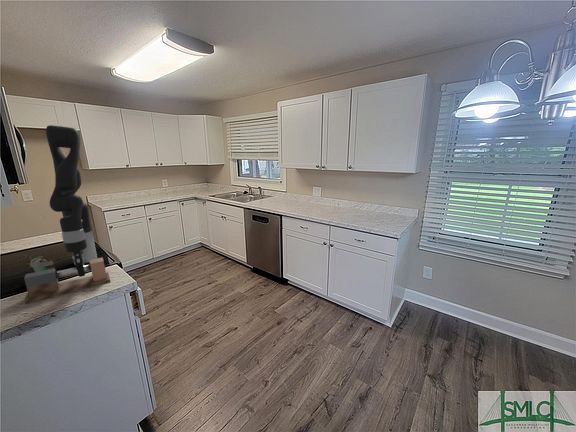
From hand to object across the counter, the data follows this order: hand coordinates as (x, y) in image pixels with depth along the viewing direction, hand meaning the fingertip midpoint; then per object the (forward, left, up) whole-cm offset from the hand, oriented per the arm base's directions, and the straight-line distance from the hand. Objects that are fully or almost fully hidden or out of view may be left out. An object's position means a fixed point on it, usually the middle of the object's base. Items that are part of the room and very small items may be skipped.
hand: (82, 274), depth 112 cm
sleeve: (-7, -11, +1) cm, 13 cm away
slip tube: (-1, -2, +1) cm, 3 cm away
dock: (-2, -4, -5) cm, 7 cm away
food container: (-23, -2, -5) cm, 24 cm away
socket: (+4, +5, -4) cm, 7 cm away
